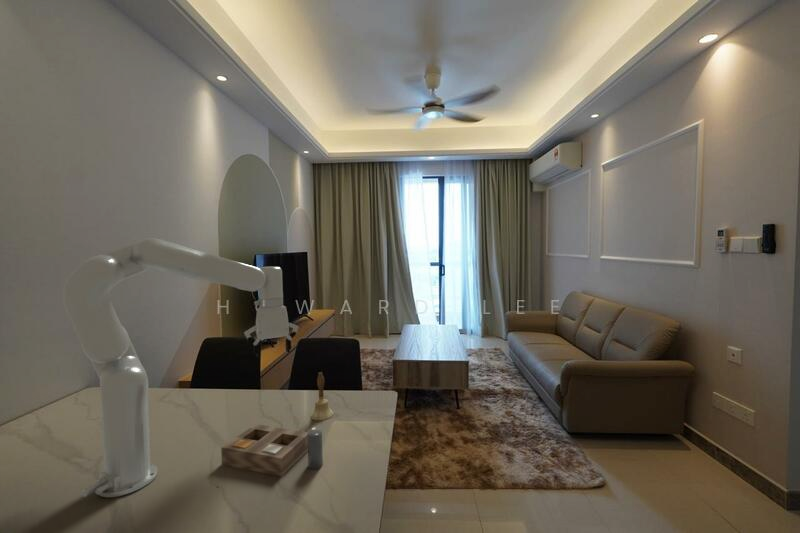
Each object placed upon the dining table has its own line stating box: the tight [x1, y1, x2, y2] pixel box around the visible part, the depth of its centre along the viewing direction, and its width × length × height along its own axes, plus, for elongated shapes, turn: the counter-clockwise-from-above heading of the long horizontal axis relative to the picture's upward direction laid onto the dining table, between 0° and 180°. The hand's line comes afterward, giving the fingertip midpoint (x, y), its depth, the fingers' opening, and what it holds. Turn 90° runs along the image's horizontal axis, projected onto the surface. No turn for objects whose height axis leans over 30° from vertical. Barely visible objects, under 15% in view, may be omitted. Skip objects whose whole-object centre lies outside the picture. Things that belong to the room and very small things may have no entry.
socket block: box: [220, 423, 310, 477], centre depth 103 cm, size 20×14×5 cm
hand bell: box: [310, 371, 334, 421], centre depth 129 cm, size 8×8×16 cm
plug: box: [307, 429, 324, 470], centre depth 98 cm, size 4×4×9 cm
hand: (273, 353), depth 117 cm, fingers open, 9 cm apart
